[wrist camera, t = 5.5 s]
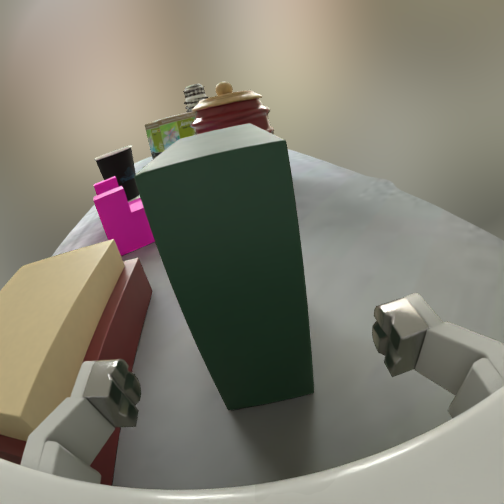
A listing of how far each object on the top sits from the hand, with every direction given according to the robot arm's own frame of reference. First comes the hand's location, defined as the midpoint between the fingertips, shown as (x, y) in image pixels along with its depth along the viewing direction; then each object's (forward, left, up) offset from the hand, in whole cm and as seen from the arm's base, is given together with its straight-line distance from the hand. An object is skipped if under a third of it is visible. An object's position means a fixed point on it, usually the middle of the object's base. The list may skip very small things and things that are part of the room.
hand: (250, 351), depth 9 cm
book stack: (+6, +15, -7) cm, 17 cm away
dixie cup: (+49, +21, -7) cm, 54 cm away
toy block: (+32, +15, -7) cm, 36 cm away
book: (+7, 0, -7) cm, 10 cm away
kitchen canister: (+42, -2, -7) cm, 43 cm away
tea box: (+86, +14, -7) cm, 87 cm away
